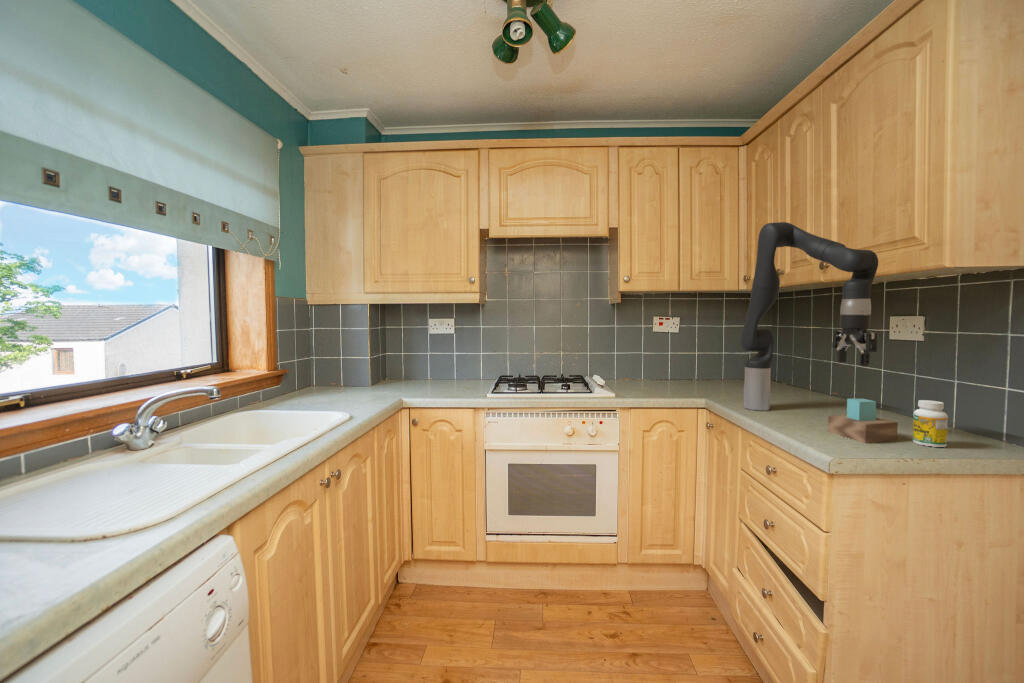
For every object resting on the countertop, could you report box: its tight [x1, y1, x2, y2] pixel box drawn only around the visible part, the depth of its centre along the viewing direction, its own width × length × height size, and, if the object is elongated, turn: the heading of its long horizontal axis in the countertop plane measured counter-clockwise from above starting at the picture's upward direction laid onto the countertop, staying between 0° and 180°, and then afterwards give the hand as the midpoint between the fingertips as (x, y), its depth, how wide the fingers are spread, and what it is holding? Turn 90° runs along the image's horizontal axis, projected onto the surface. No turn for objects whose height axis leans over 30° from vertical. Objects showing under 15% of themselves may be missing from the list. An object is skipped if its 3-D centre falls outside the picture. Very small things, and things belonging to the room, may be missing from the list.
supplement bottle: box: [912, 399, 949, 448], centre depth 124 cm, size 7×7×13 cm
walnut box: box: [827, 414, 899, 444], centre depth 133 cm, size 12×12×6 cm
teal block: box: [846, 398, 877, 421], centre depth 133 cm, size 5×5×6 cm
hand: (852, 363), depth 134 cm, fingers open, 8 cm apart
